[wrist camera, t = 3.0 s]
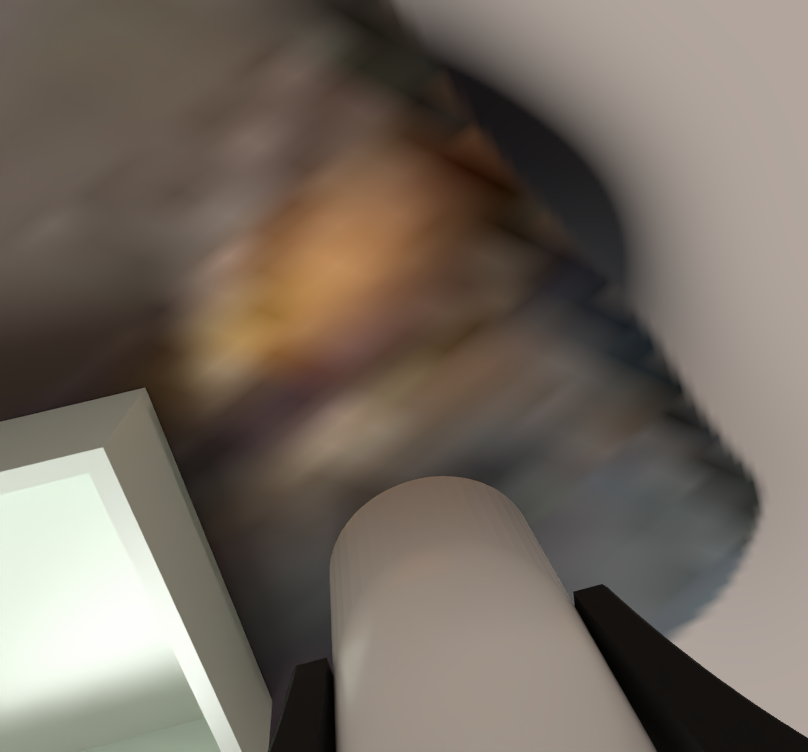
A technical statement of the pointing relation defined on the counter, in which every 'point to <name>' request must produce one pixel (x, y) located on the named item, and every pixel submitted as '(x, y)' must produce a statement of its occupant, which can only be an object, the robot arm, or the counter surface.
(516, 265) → the counter surface
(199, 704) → the tote
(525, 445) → the counter surface
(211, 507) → the counter surface
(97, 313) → the counter surface
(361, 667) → the white canister
